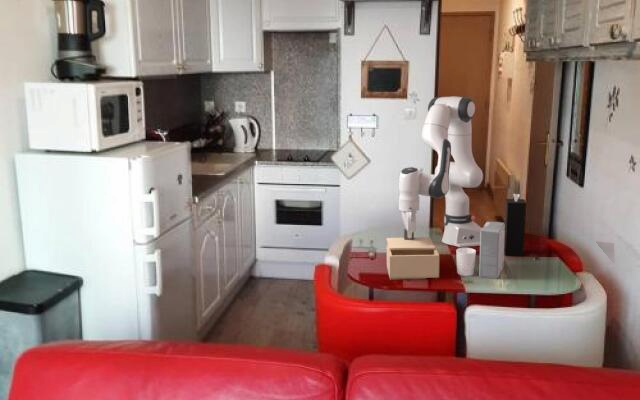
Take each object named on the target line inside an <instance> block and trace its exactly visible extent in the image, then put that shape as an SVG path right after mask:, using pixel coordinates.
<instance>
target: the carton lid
mask: <svg viewBox="0 0 640 400" xmlns="http://www.w3.org/2000/svg"><path fill="white" fill-rule="evenodd" d="M386 242H387V245H388V246H389V250H425V249H435V248H436V246H435V244H434V242H433V240H432V239H431V237H430V236H423V237H420V236H419V237H417V236H416V237H415V232H412V238H408V237H407V229H406V228H405V229H403V237H386Z"/></svg>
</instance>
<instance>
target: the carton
mask: <svg viewBox="0 0 640 400" xmlns="http://www.w3.org/2000/svg"><path fill="white" fill-rule="evenodd" d="M386 270H387V273H388V277H389V280H390V281H391V280H427V279H426V278H439V279H440V254H439V251H438V250H437V247H435V249H425V250H389V246H388V244H386Z"/></svg>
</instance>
